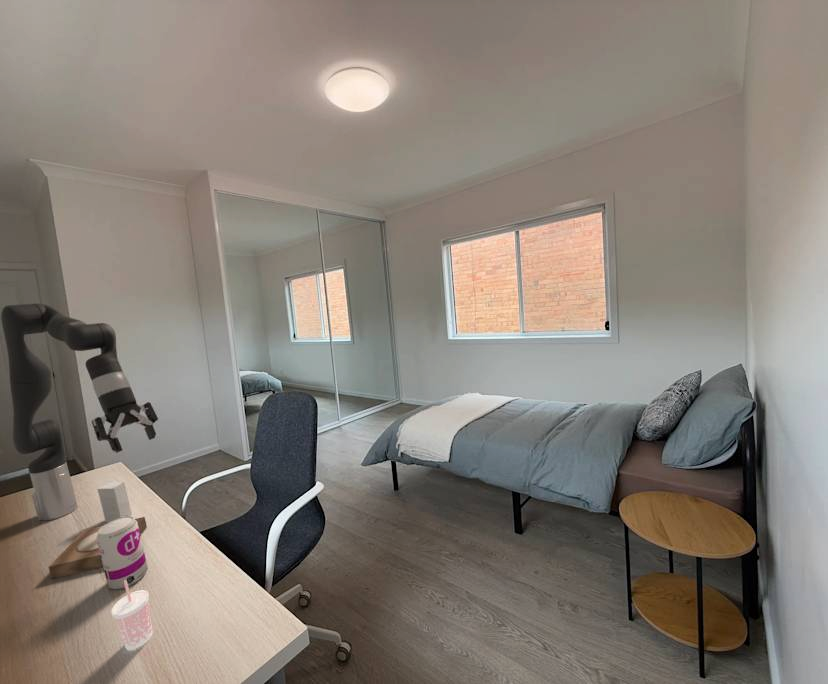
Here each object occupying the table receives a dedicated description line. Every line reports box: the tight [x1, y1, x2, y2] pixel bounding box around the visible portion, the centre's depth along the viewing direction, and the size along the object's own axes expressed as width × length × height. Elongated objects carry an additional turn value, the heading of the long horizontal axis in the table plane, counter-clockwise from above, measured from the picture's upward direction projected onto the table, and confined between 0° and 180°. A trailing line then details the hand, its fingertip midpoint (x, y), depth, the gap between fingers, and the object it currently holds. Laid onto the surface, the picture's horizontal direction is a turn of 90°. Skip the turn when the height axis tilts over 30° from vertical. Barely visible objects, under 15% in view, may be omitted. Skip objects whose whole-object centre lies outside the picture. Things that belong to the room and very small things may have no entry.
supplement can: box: [97, 515, 149, 590], centre depth 94 cm, size 8×8×15 cm
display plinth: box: [48, 516, 148, 580], centre depth 107 cm, size 16×16×4 cm
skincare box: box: [97, 481, 133, 523], centre depth 123 cm, size 6×4×12 cm
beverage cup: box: [111, 579, 154, 651], centre depth 76 cm, size 6×6×14 cm
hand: (136, 445), depth 103 cm, fingers open, 8 cm apart
